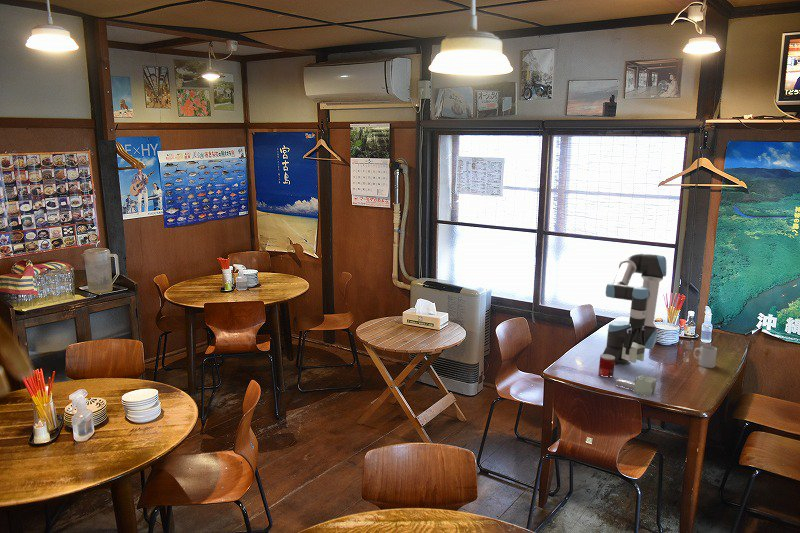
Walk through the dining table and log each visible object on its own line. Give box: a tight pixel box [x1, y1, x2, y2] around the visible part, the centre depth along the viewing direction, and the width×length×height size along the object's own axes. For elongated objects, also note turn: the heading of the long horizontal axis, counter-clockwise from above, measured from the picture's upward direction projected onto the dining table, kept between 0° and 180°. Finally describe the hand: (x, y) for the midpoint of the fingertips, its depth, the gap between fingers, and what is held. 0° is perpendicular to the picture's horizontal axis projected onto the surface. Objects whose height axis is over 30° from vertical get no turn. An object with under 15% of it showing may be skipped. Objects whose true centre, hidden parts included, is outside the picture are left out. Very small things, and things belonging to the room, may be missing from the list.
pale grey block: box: [615, 374, 657, 398], centre depth 324 cm, size 18×7×8 cm, turn 50°
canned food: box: [598, 353, 616, 377], centre depth 343 cm, size 8×8×11 cm
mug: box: [693, 344, 718, 369], centre depth 364 cm, size 12×8×11 cm
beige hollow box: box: [622, 342, 646, 364], centre depth 325 cm, size 9×7×8 cm
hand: (632, 358), depth 326 cm, fingers closed on beige hollow box, 7 cm apart
